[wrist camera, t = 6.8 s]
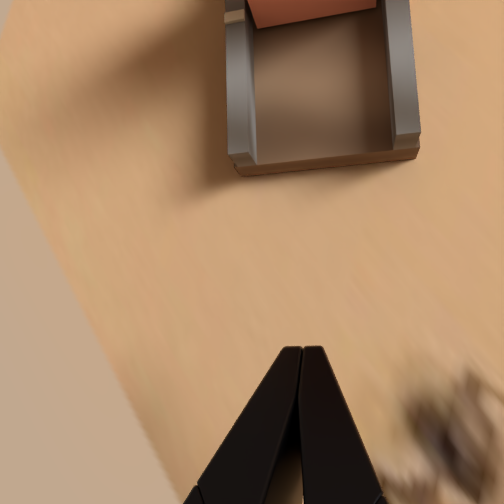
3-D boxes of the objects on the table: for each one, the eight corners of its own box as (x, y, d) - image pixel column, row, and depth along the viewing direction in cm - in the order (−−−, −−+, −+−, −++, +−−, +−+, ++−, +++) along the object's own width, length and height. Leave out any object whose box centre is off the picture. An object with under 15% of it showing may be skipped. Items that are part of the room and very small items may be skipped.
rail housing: (415, 158, 22) (426, 129, 18) (241, 176, 24) (222, 153, 20) (395, -77, 24) (401, -143, 20) (236, -42, 26) (218, -96, 22)
